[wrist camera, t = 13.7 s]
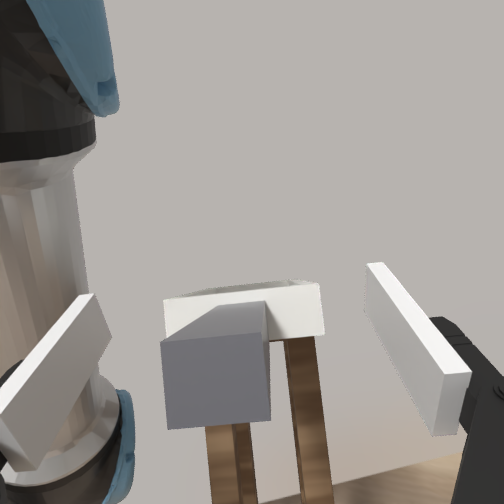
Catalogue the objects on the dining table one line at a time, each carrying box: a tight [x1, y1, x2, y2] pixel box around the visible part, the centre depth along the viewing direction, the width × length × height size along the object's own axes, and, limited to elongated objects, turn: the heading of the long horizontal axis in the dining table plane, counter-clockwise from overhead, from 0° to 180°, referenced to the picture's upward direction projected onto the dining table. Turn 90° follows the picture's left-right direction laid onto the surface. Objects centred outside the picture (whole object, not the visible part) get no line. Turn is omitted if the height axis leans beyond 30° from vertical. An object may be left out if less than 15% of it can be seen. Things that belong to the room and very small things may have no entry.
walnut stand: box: [205, 336, 334, 504], centre depth 37 cm, size 16×11×30 cm
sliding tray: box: [160, 279, 325, 430], centre depth 23 cm, size 27×10×3 cm, turn 178°
